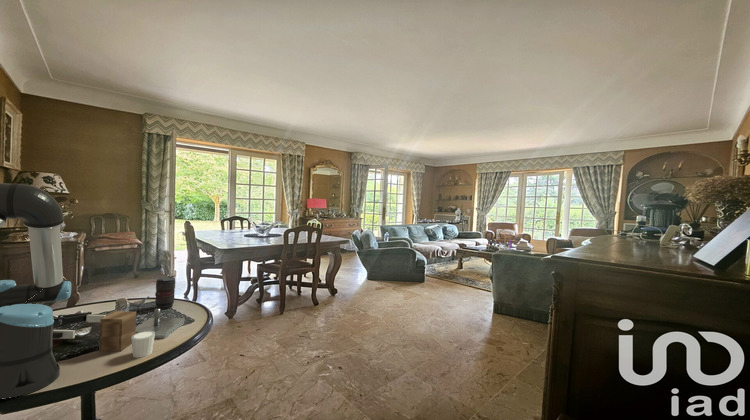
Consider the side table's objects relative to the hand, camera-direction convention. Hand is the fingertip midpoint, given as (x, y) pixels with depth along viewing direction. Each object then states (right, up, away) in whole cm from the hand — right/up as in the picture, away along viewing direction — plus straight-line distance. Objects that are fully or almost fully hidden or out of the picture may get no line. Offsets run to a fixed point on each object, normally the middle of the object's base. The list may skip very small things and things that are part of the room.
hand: (90, 326), depth 110 cm
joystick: (+14, -8, +16) cm, 22 cm away
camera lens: (-1, -7, +40) cm, 41 cm away
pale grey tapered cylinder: (+22, -9, -2) cm, 24 cm away
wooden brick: (+9, -8, +1) cm, 12 cm away
